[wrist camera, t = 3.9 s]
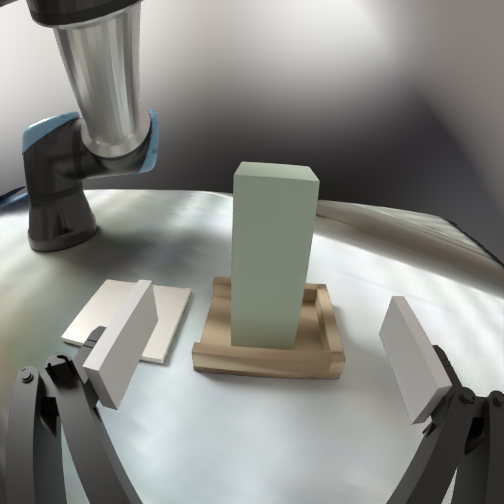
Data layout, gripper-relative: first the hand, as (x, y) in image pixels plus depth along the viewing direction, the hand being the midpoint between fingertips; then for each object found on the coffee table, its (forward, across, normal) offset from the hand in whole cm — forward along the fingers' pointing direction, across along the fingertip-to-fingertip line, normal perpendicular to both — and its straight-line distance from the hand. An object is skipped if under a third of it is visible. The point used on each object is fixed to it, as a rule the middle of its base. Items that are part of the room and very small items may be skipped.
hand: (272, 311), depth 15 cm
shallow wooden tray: (+11, 0, -11) cm, 16 cm away
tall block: (+11, 0, -11) cm, 15 cm away
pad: (+11, -15, -11) cm, 22 cm away
